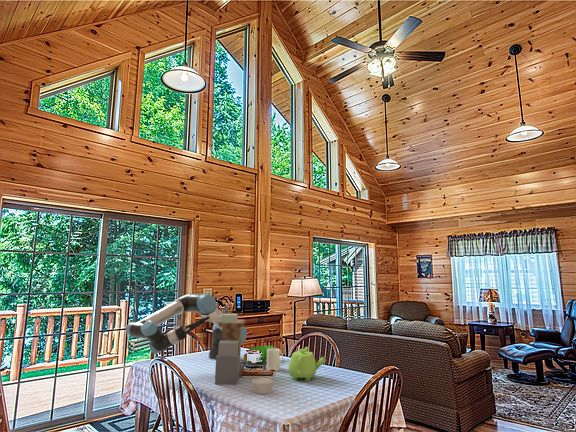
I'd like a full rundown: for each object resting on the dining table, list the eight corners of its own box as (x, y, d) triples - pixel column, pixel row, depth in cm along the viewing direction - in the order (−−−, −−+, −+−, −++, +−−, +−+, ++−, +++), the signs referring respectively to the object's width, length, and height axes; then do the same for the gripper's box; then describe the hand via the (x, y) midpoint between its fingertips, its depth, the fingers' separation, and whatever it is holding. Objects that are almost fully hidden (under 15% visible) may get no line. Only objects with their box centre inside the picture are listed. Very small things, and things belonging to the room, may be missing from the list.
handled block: (199, 322, 208) (200, 314, 208) (202, 320, 215) (202, 313, 216) (236, 322, 208) (236, 315, 209) (237, 320, 216) (237, 313, 217)
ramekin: (261, 387, 198) (262, 376, 199) (278, 391, 191) (278, 380, 192) (246, 391, 189) (247, 380, 190) (263, 396, 182) (263, 385, 183)
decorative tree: (243, 344, 249) (276, 338, 270) (239, 360, 251) (272, 352, 272) (253, 354, 241) (286, 346, 262) (248, 370, 243) (282, 361, 264)
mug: (279, 366, 243) (279, 347, 245) (286, 369, 236) (287, 349, 238) (263, 368, 237) (264, 348, 238) (270, 371, 230) (271, 351, 231)
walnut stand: (216, 377, 215) (218, 323, 220) (220, 368, 235) (222, 319, 239) (241, 377, 216) (242, 323, 220) (243, 368, 235) (245, 319, 240)
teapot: (323, 385, 204) (323, 354, 206) (285, 382, 208) (285, 352, 210) (328, 373, 228) (328, 346, 230) (293, 371, 232) (293, 344, 235)
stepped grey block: (214, 384, 201) (216, 343, 204) (217, 378, 213) (219, 339, 216) (237, 384, 202) (238, 343, 205) (239, 378, 214) (240, 339, 217)
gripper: (183, 338, 217) (220, 318, 220) (177, 343, 201) (216, 321, 204) (177, 326, 218) (214, 306, 221) (170, 330, 202) (210, 308, 205)
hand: (215, 313), depth 213 cm, fingers closed on handled block, 3 cm apart
